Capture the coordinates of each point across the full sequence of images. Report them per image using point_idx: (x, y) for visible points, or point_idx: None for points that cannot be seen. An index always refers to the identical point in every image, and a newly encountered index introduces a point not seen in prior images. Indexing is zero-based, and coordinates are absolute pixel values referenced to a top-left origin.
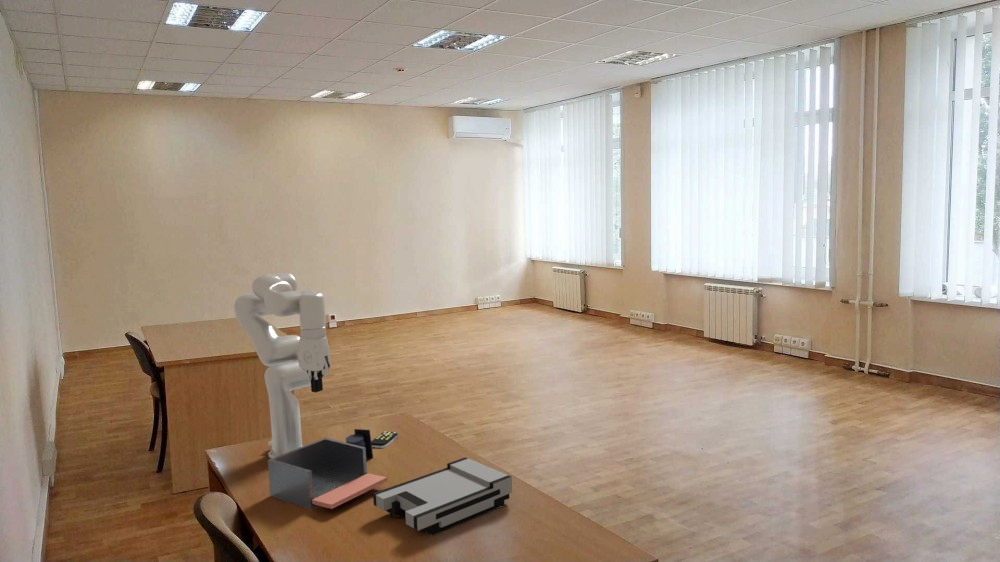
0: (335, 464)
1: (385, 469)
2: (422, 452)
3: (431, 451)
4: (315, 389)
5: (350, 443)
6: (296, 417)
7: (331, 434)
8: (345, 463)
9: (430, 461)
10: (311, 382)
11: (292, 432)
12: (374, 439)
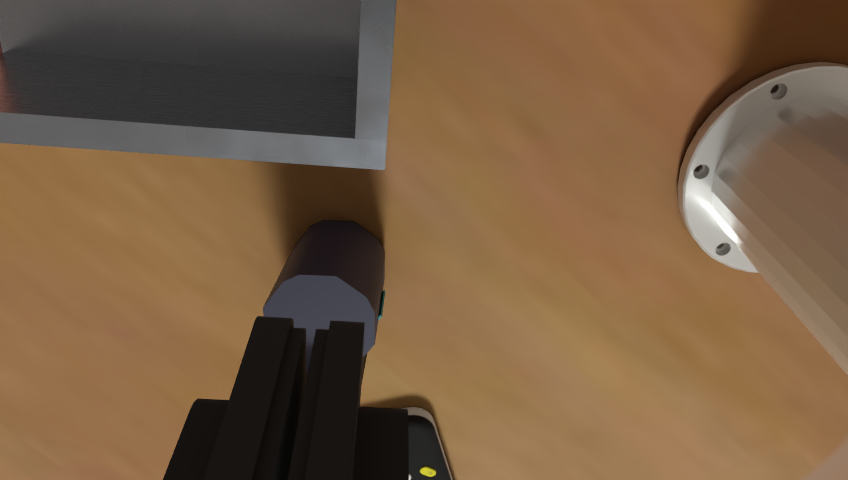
0: (278, 75)
1: (117, 237)
2: (141, 449)
3: (116, 470)
4: (244, 365)
5: (307, 271)
6: (833, 314)
7: (714, 443)
8: (172, 75)
9: (17, 392)
10: (322, 474)
11: (794, 217)
12: (431, 458)
